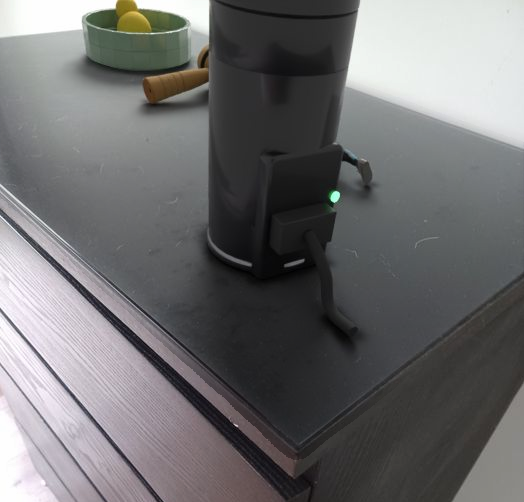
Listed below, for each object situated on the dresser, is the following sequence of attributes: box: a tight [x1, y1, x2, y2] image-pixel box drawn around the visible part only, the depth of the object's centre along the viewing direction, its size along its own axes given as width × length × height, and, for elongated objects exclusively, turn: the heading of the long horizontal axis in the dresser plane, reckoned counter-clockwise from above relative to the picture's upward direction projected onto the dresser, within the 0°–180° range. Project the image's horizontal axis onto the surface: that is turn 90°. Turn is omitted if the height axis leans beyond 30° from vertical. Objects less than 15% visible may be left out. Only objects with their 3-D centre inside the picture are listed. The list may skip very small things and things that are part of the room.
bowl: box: [81, 7, 192, 72], centre depth 78 cm, size 15×15×5 cm
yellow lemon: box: [115, 0, 152, 33], centre depth 79 cm, size 7×5×7 cm
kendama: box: [142, 43, 209, 105], centre depth 68 cm, size 8×6×18 cm
